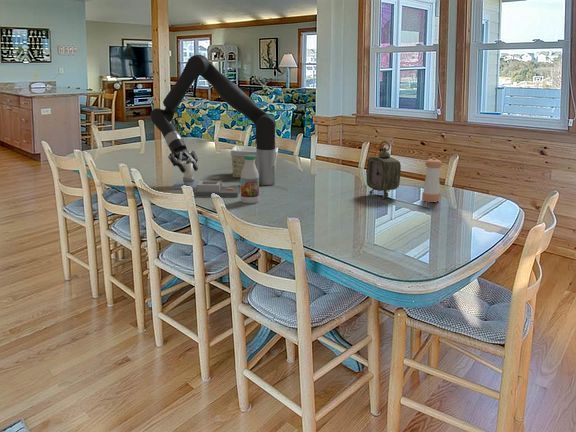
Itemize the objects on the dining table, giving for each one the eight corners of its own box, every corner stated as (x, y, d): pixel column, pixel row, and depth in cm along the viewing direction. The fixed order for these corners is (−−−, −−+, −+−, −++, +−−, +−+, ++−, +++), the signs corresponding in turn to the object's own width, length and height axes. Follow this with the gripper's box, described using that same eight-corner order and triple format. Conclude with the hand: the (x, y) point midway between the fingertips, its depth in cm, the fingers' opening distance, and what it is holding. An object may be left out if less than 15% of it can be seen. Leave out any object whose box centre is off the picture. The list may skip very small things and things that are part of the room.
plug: (195, 183, 263) (194, 159, 260) (193, 185, 258) (192, 161, 255) (184, 183, 263) (183, 159, 260) (182, 185, 258) (181, 161, 255)
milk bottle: (237, 201, 234) (236, 154, 229) (252, 198, 238) (252, 153, 233) (247, 204, 228) (247, 157, 223) (262, 202, 233) (262, 155, 227)
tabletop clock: (365, 193, 252) (368, 139, 246) (382, 192, 256) (385, 138, 249) (382, 200, 240) (386, 143, 233) (400, 199, 243) (404, 142, 237)
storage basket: (278, 173, 296) (278, 146, 292) (276, 179, 280) (277, 151, 276) (234, 172, 296) (233, 145, 293) (230, 178, 281) (229, 150, 277)
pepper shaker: (436, 199, 245) (440, 156, 240) (441, 202, 238) (445, 159, 233) (420, 198, 244) (423, 156, 239) (424, 202, 237) (428, 158, 232)
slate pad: (205, 183, 267) (205, 181, 267) (201, 190, 254) (201, 187, 253) (177, 183, 267) (177, 181, 267) (171, 189, 254) (171, 187, 253)
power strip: (239, 191, 253) (239, 180, 251) (237, 197, 241) (237, 186, 240) (196, 190, 253) (196, 179, 251) (192, 196, 241) (191, 185, 240)
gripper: (165, 139, 255) (180, 167, 250) (190, 136, 264) (206, 164, 259) (159, 149, 260) (174, 177, 255) (185, 146, 269) (199, 173, 264)
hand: (190, 170), depth 257 cm, fingers open, 6 cm apart
